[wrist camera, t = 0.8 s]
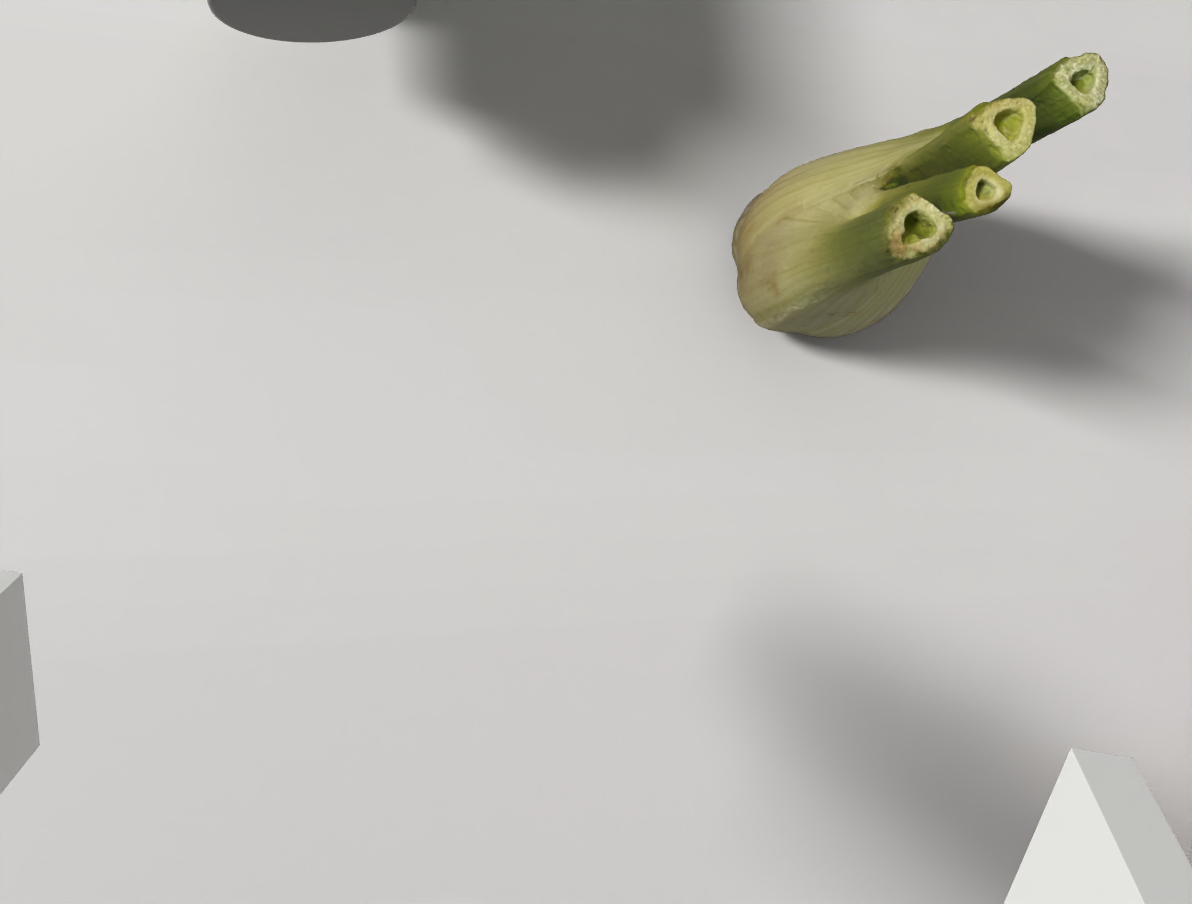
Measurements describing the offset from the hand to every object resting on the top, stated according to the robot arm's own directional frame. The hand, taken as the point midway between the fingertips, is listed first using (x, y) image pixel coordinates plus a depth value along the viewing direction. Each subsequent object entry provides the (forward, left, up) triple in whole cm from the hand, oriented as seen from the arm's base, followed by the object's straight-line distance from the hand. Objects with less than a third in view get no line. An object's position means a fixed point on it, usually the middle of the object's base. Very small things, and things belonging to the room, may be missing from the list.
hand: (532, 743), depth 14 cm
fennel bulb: (+11, -8, -18) cm, 23 cm away
